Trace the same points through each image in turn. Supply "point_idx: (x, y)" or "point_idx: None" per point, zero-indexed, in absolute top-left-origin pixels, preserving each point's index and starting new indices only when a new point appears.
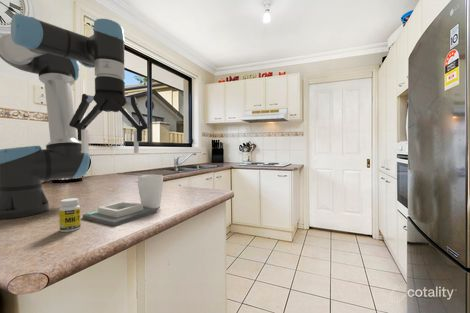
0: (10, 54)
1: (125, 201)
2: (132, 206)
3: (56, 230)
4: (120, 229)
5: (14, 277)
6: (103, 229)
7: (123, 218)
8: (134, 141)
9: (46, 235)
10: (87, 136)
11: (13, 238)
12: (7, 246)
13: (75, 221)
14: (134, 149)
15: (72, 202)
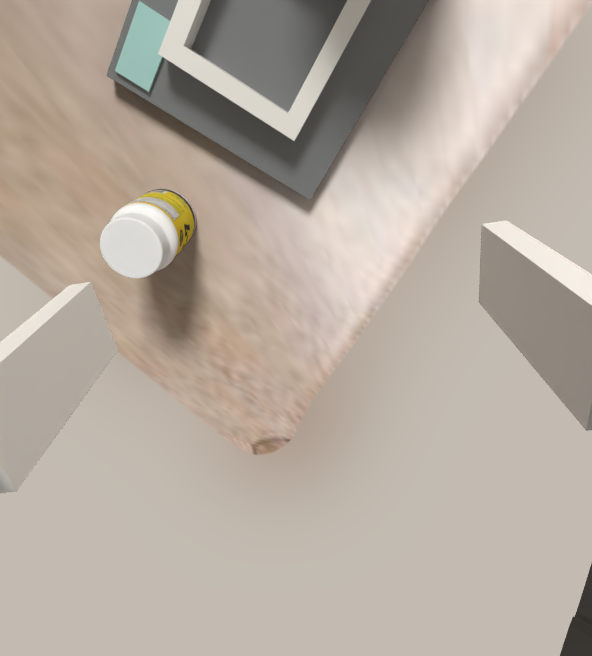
0: None
1: None
2: (335, 43)
3: None
4: (344, 231)
5: (252, 448)
6: (284, 227)
7: (326, 153)
8: (527, 352)
9: None
10: (19, 372)
11: (58, 283)
12: None
13: (187, 240)
14: (494, 314)
15: (159, 266)
